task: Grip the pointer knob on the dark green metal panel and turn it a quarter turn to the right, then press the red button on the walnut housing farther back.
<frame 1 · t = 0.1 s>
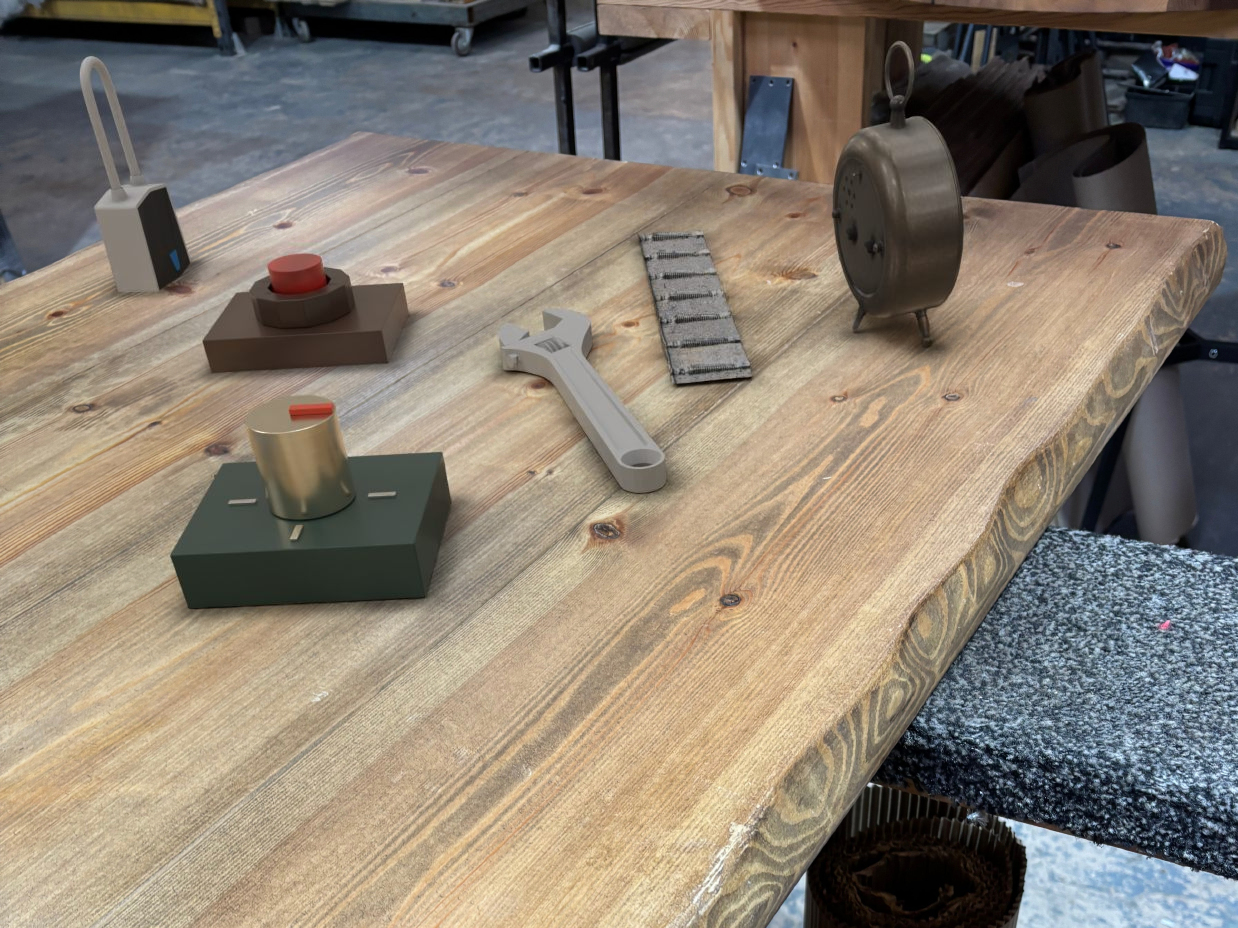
adjustable wrench: (574, 409, 82), on the table
button: (297, 275, 89), point 4 cm above the table, slide at 0.1 cm
knob: (300, 454, 66), point 5 cm above the table, hinge at 0.0°
alarm clock: (885, 330, 88), on the table
panel: (326, 553, 70), on the table
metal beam: (688, 301, 94), on the table
button box: (313, 342, 92), on the table
padlock: (156, 279, 105), on the table
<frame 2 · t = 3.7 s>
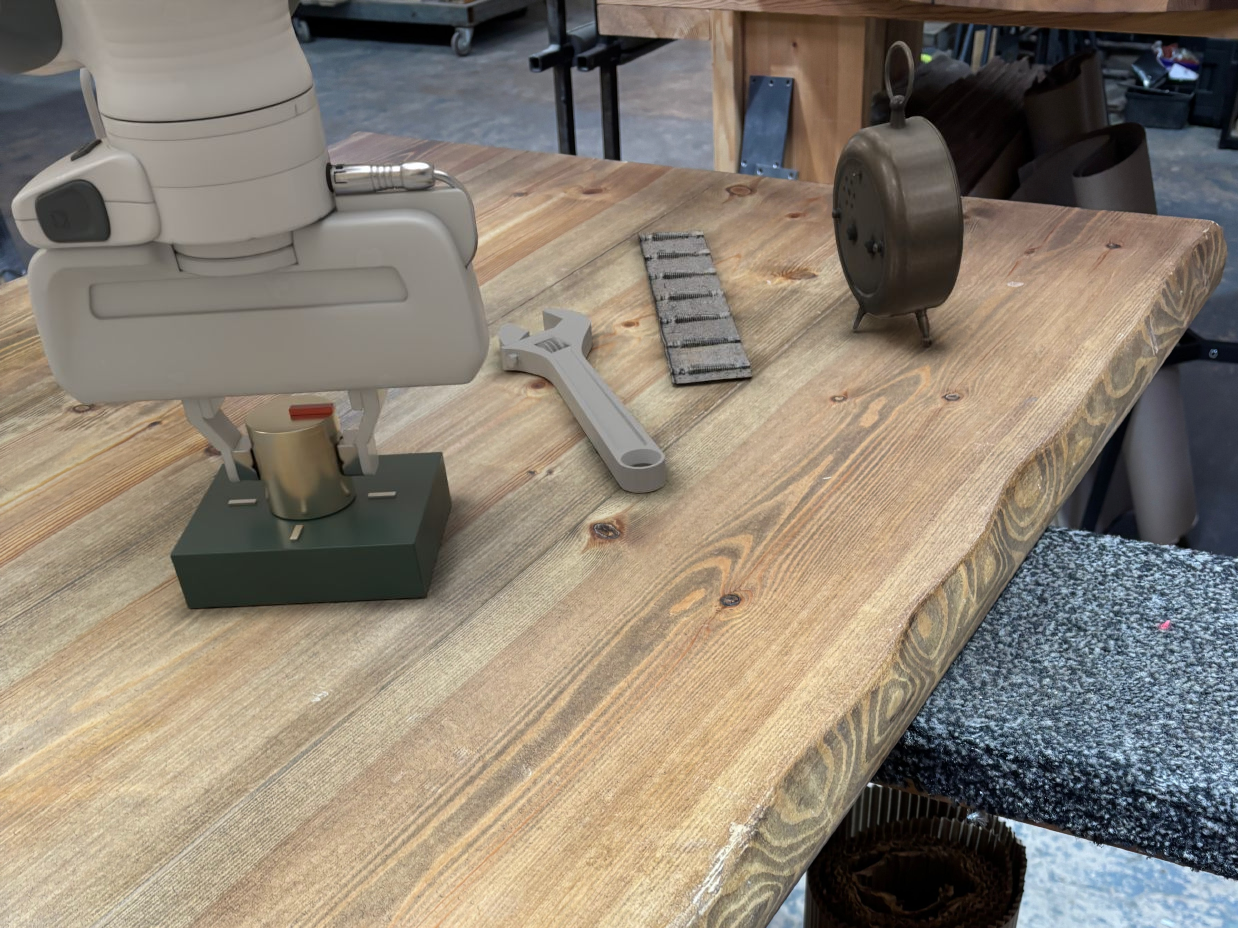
hand: (305, 474, 67), 4 cm above the table, tool pointing down, fingers closed on knob, 4 cm apart
knob: (300, 454, 66), point 5 cm above the table, hinge at -0.3°, touching gripper
everything else where it was.
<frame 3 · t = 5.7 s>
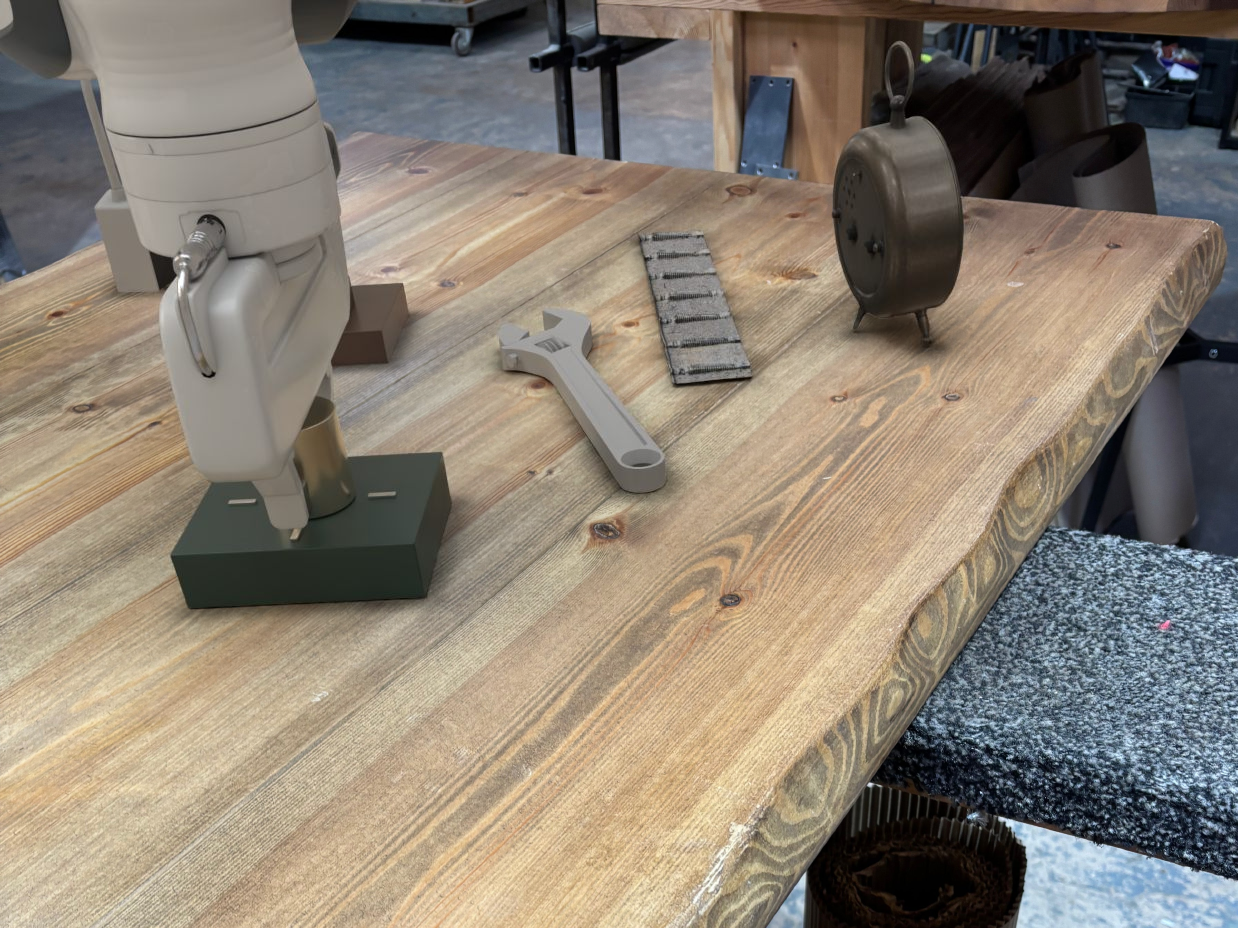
hand: (308, 484, 67), 4 cm above the table, tool pointing down, fingers open, 7 cm apart
knob: (300, 454, 66), point 5 cm above the table, hinge at -91.3°
everything else where it was.
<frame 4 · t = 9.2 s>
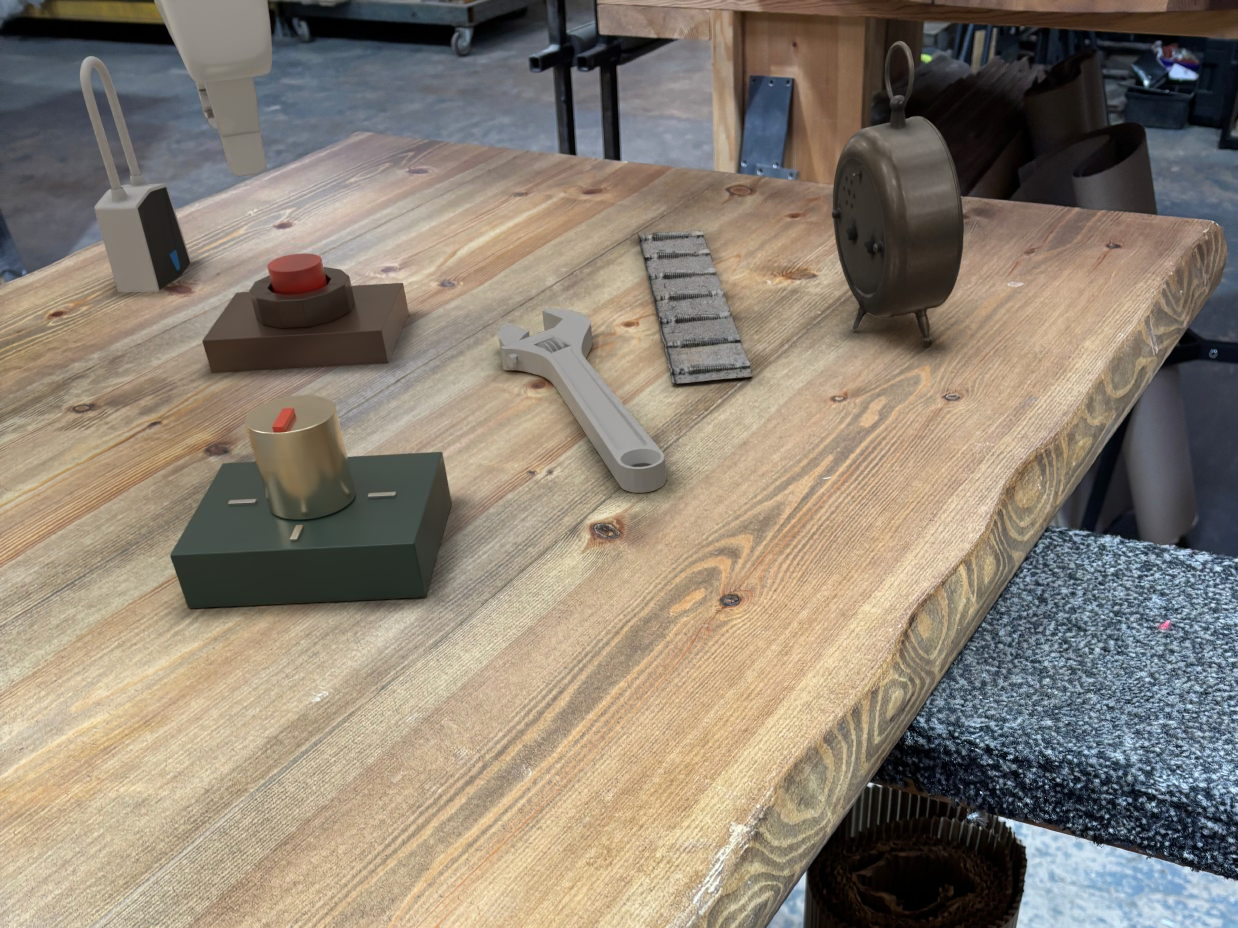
hand: (236, 148, 67), 17 cm above the table, tool pointing down, fingers open, 8 cm apart
nothing on the table moved.
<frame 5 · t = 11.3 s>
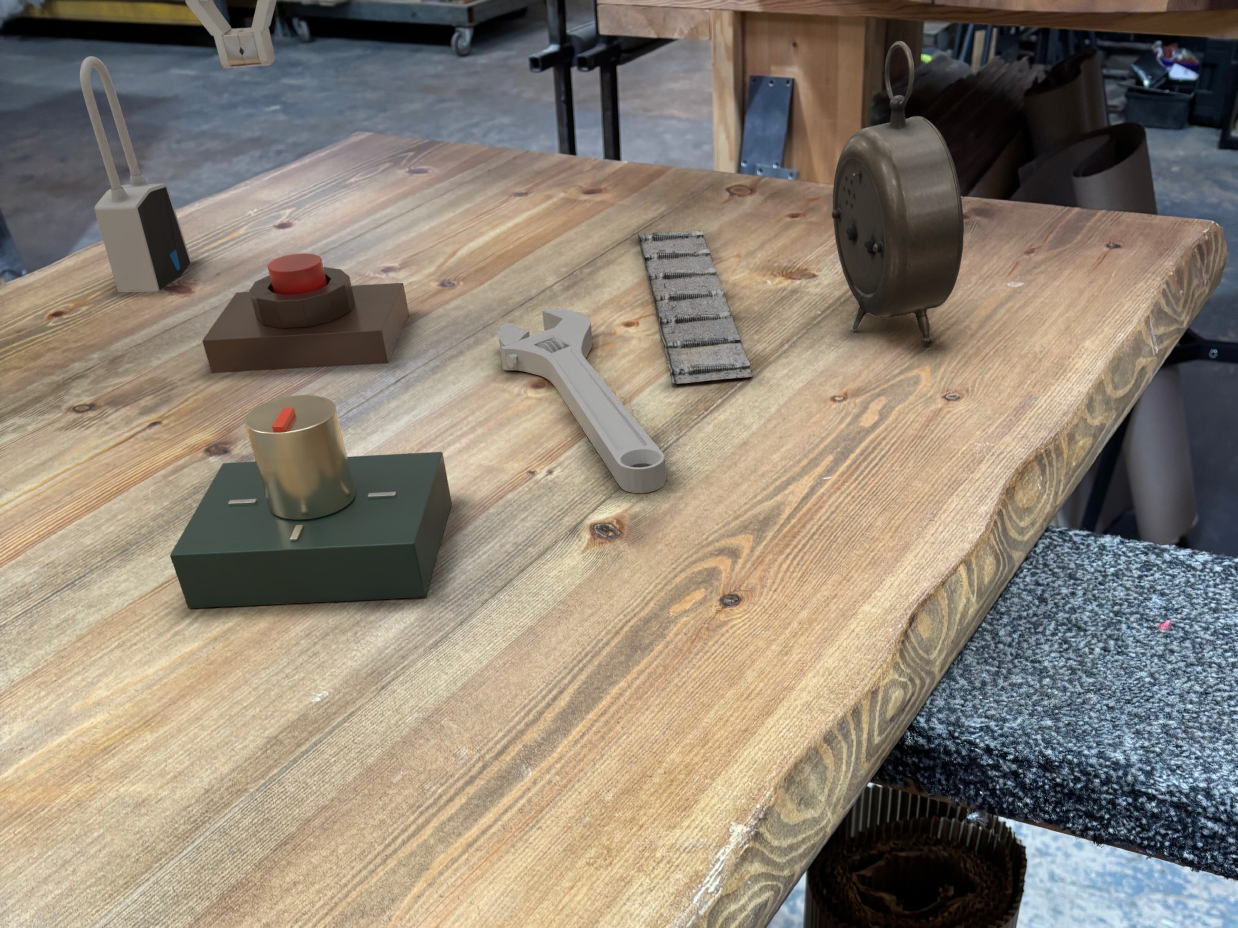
hand: (249, 65, 81), 17 cm above the table, tool pointing down, fingers closed
nothing on the table moved.
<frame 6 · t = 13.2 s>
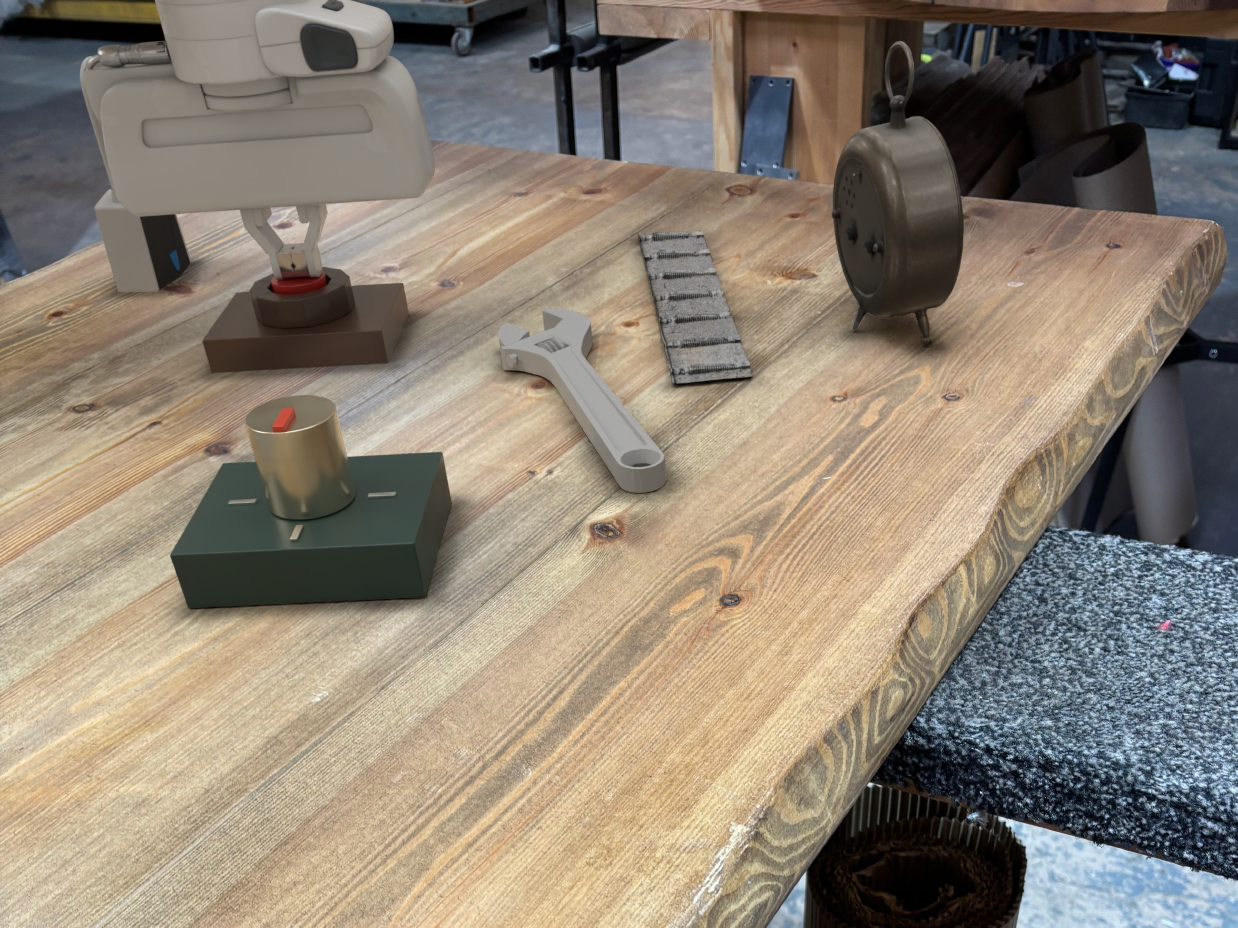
hand: (299, 275, 89), 4 cm above the table, tool pointing down, fingers closed, pressing on button
button: (301, 290, 90), point 4 cm above the table, slide at -0.8 cm, touching gripper
everything else where it was.
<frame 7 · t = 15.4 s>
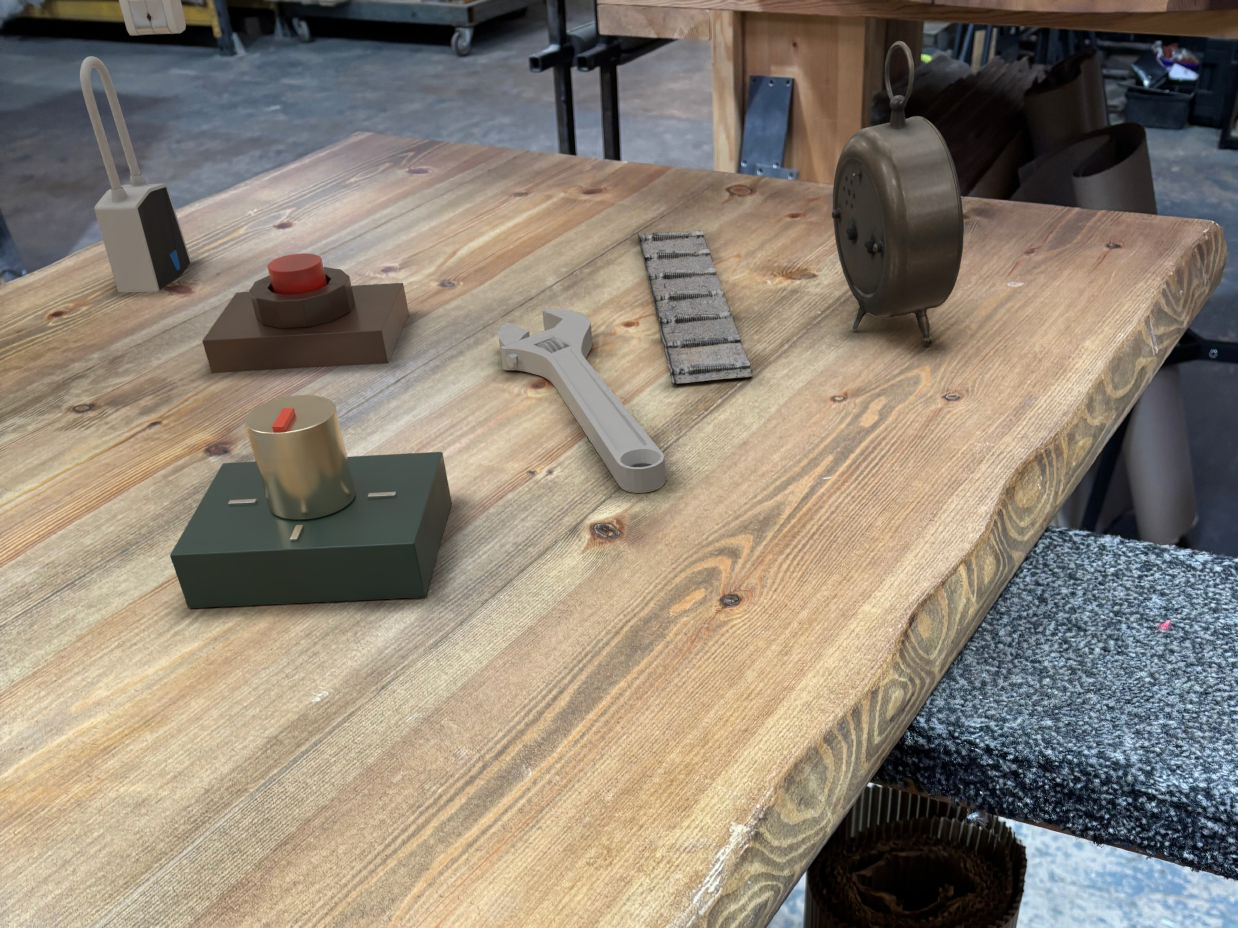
hand: (158, 32, 76), 19 cm above the table, tool pointing down, fingers closed
button: (297, 275, 89), point 4 cm above the table, slide at 0.1 cm
everything else where it was.
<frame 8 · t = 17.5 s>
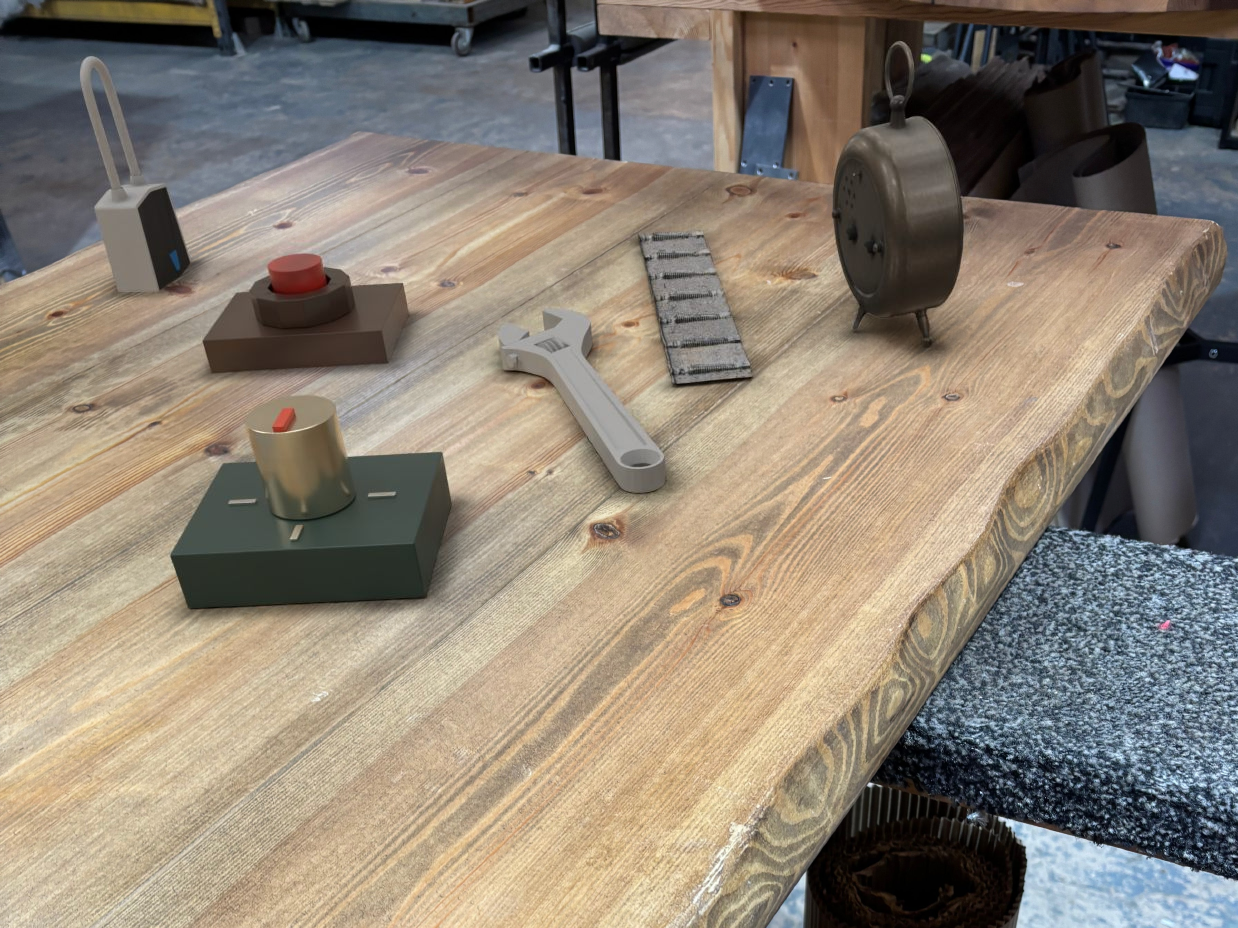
nothing on the table moved.
at the end: knob at -91° (first picture: +0°); button pushed in 1.1 cm at the most during the clip, back to where it started at the end; button slide at 0.1 cm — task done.
